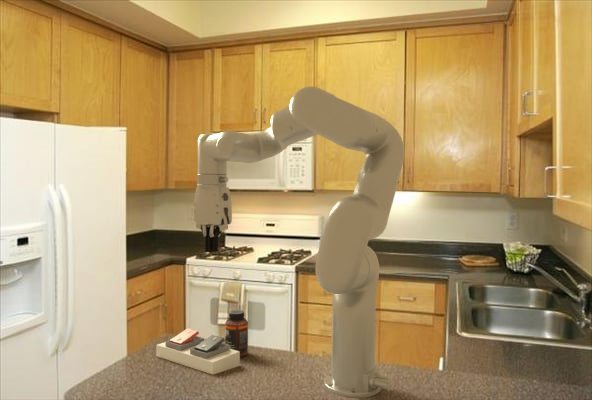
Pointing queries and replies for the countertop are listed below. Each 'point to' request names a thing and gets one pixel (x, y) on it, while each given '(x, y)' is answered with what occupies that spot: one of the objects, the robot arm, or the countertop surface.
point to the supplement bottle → (237, 332)
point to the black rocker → (210, 344)
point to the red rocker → (184, 337)
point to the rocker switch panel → (200, 356)
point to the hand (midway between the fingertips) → (211, 251)
